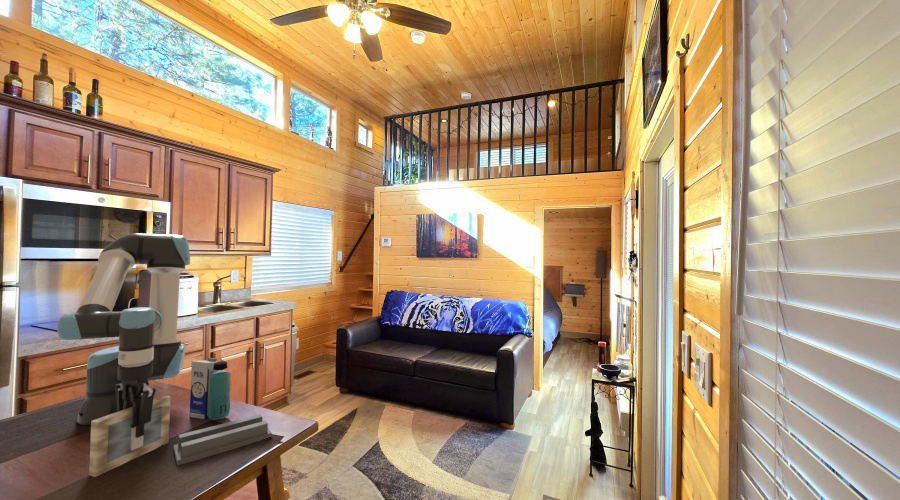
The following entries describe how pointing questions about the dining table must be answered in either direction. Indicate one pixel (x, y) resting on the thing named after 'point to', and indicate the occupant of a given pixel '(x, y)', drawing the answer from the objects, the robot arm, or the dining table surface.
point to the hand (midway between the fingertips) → (132, 446)
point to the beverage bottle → (219, 392)
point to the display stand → (220, 438)
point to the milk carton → (200, 387)
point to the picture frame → (126, 436)
